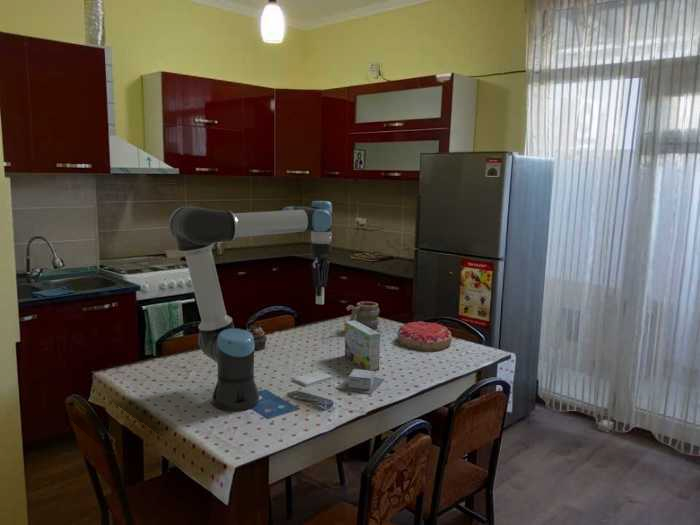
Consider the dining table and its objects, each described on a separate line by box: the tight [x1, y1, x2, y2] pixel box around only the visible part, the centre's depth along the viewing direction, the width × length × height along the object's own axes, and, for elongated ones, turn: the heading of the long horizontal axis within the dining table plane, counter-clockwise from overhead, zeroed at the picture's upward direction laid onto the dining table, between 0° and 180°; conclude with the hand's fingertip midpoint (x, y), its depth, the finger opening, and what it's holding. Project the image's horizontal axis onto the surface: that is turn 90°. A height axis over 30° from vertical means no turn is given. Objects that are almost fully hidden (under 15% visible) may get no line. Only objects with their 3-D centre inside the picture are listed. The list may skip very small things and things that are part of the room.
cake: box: [396, 320, 453, 352], centre depth 258 cm, size 25×25×8 cm
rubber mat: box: [335, 376, 385, 395], centre depth 203 cm, size 16×13×1 cm
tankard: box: [345, 301, 381, 333], centre depth 270 cm, size 20×13×15 cm, turn 130°
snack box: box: [344, 320, 381, 371], centre depth 226 cm, size 21×6×15 cm, turn 27°
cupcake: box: [246, 324, 267, 352], centre depth 241 cm, size 10×10×10 cm
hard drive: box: [291, 370, 333, 387], centre depth 206 cm, size 2×8×12 cm
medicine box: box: [348, 368, 376, 390], centre depth 201 cm, size 8×4×9 cm
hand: (319, 303), depth 213 cm, fingers closed
